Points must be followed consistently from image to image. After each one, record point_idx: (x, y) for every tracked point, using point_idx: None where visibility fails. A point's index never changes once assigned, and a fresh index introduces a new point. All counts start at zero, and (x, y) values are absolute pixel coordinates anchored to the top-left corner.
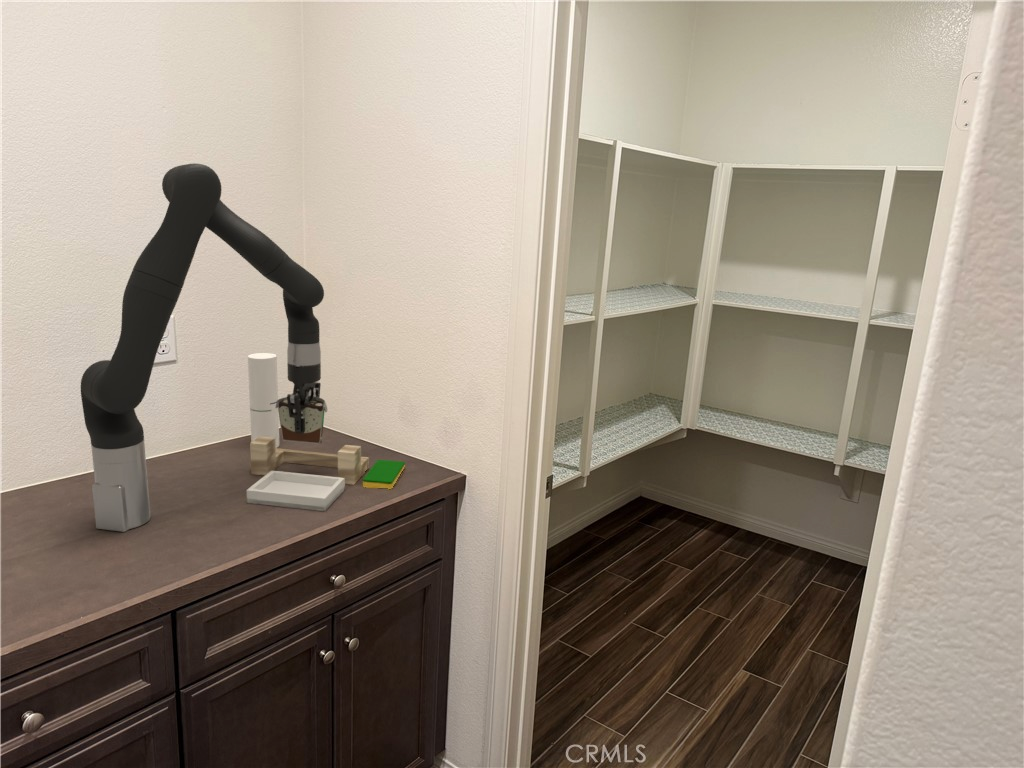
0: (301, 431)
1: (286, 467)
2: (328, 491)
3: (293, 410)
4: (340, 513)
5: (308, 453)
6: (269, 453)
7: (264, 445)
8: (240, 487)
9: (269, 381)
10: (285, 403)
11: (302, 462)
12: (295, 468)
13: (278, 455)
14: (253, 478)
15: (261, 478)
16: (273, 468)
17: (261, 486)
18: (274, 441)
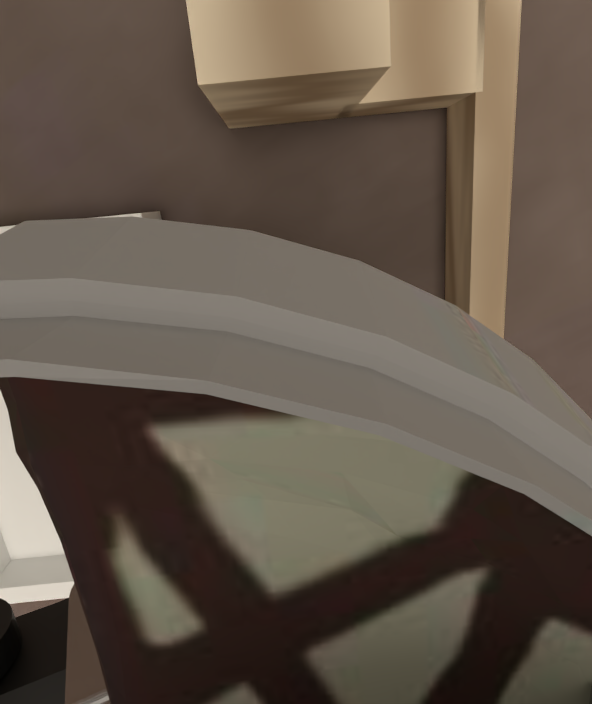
0: None
1: (377, 168)
2: (46, 589)
3: (67, 670)
4: (23, 610)
5: (475, 272)
6: (267, 100)
7: (197, 72)
8: (22, 80)
9: None
10: (109, 536)
11: (448, 230)
12: (377, 224)
13: (395, 100)
14: (163, 74)
15: (8, 226)
16: (311, 119)
17: None
18: (366, 75)
